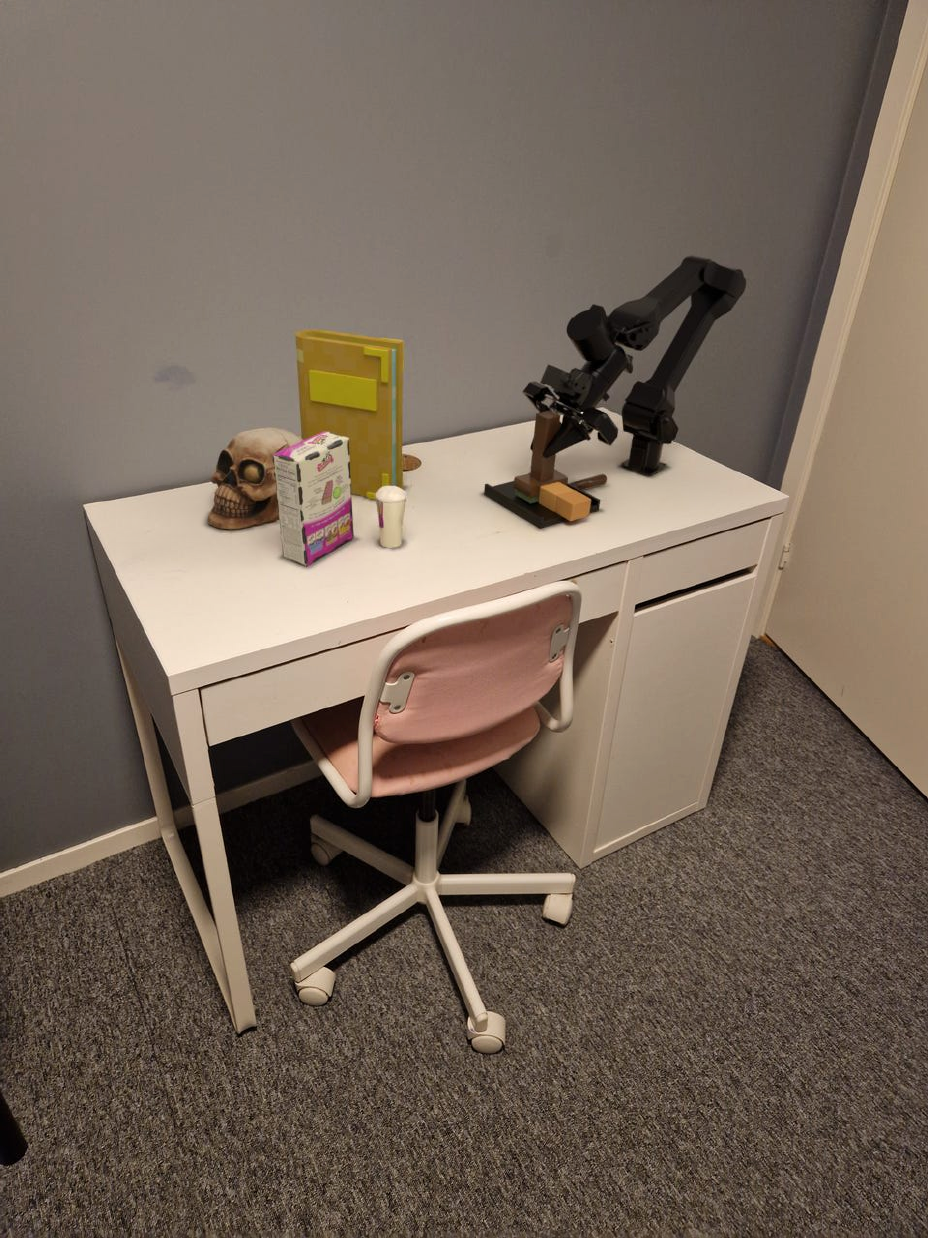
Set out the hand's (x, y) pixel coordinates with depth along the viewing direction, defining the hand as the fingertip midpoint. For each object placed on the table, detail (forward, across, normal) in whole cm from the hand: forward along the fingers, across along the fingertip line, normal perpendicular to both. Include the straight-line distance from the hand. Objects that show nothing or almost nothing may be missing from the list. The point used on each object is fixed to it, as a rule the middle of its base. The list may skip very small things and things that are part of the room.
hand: (537, 453), depth 140 cm
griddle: (+2, 0, +10) cm, 11 cm away
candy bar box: (+34, -4, -20) cm, 40 cm away
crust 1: (+5, +4, +6) cm, 9 cm away
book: (+23, -22, -10) cm, 33 cm away
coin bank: (+35, -21, -22) cm, 46 cm away
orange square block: (+4, +8, +6) cm, 11 cm away
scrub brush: (+4, 0, +6) cm, 8 cm away
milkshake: (+26, 0, -13) cm, 29 cm away
